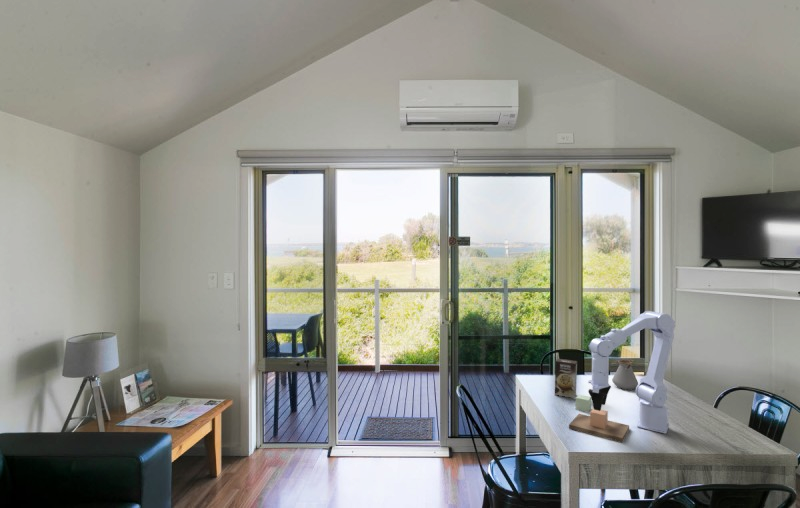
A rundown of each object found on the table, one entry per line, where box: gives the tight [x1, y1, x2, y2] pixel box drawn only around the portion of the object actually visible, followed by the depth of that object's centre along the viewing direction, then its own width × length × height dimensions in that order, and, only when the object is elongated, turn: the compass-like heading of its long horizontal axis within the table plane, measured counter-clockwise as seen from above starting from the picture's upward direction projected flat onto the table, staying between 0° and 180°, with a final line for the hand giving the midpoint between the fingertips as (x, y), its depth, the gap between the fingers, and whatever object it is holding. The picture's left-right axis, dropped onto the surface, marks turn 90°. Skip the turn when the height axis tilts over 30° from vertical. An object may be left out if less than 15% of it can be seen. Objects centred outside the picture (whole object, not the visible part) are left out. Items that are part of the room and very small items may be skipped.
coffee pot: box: [612, 359, 639, 391], centre depth 202 cm, size 21×12×15 cm, turn 158°
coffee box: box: [554, 357, 578, 399], centre depth 194 cm, size 9×6×16 cm
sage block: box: [575, 394, 592, 413], centre depth 177 cm, size 5×5×5 cm
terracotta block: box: [589, 407, 609, 429], centre depth 156 cm, size 5×5×5 cm
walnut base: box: [568, 413, 630, 443], centre depth 156 cm, size 18×14×2 cm
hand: (599, 407), depth 156 cm, fingers open, 7 cm apart
